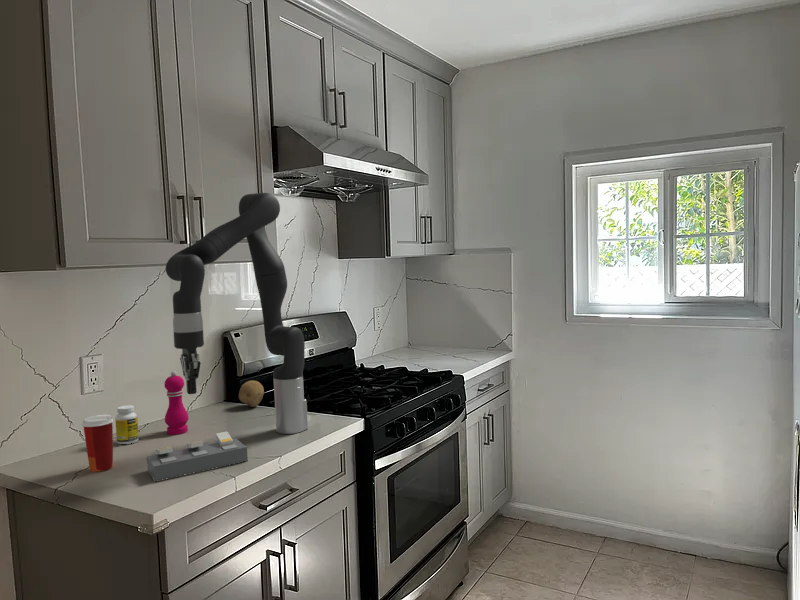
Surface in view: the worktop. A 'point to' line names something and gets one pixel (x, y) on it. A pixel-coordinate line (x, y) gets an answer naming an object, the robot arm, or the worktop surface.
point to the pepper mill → (175, 405)
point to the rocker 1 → (164, 450)
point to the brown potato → (251, 393)
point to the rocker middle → (195, 444)
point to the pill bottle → (126, 425)
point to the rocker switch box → (195, 459)
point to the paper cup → (99, 442)
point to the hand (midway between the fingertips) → (191, 393)
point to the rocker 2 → (224, 438)
